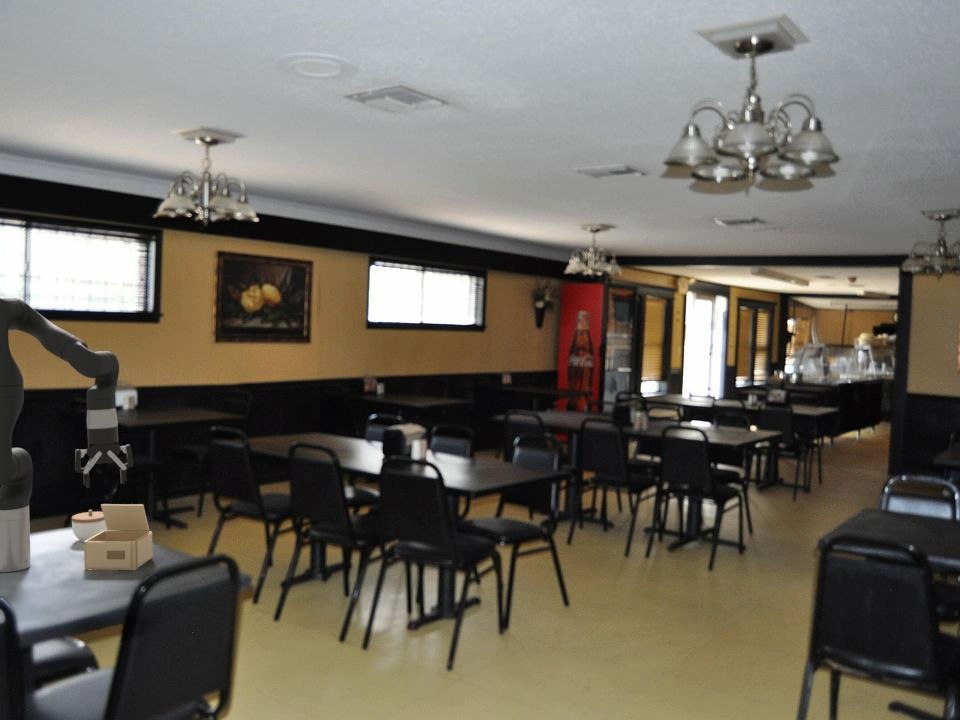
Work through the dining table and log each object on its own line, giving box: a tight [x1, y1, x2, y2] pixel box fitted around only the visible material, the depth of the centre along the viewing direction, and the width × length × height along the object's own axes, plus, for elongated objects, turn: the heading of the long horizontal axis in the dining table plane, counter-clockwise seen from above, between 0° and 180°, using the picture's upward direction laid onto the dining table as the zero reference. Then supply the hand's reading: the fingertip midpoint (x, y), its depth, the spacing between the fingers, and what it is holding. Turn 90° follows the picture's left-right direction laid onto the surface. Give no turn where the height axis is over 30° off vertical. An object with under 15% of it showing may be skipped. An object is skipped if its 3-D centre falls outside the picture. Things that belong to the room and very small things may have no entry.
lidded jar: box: [71, 509, 108, 543], centre depth 269 cm, size 11×11×9 cm
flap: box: [100, 503, 150, 531], centre depth 247 cm, size 12×1×9 cm, turn 89°
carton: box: [83, 530, 153, 571], centre depth 243 cm, size 15×13×8 cm
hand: (105, 485), depth 232 cm, fingers open, 8 cm apart
